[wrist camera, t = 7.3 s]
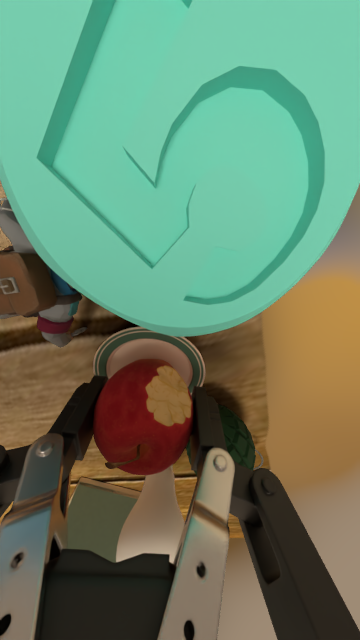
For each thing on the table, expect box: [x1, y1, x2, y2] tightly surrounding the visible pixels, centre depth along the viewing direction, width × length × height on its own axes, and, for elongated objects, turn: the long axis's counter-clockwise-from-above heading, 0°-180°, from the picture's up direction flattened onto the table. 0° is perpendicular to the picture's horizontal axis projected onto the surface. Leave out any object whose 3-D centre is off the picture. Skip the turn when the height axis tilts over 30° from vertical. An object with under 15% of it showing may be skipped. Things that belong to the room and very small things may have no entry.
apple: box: [93, 326, 205, 475], centre depth 11 cm, size 8×8×6 cm
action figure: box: [0, 198, 87, 347], centre depth 11 cm, size 9×7×15 cm
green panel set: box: [67, 477, 141, 563], centre depth 23 cm, size 15×12×16 cm
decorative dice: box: [0, 0, 360, 337], centre depth 7 cm, size 8×8×8 cm
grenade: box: [186, 404, 263, 475], centre depth 18 cm, size 6×7×12 cm
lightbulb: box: [116, 464, 185, 563], centre depth 18 cm, size 6×6×11 cm
